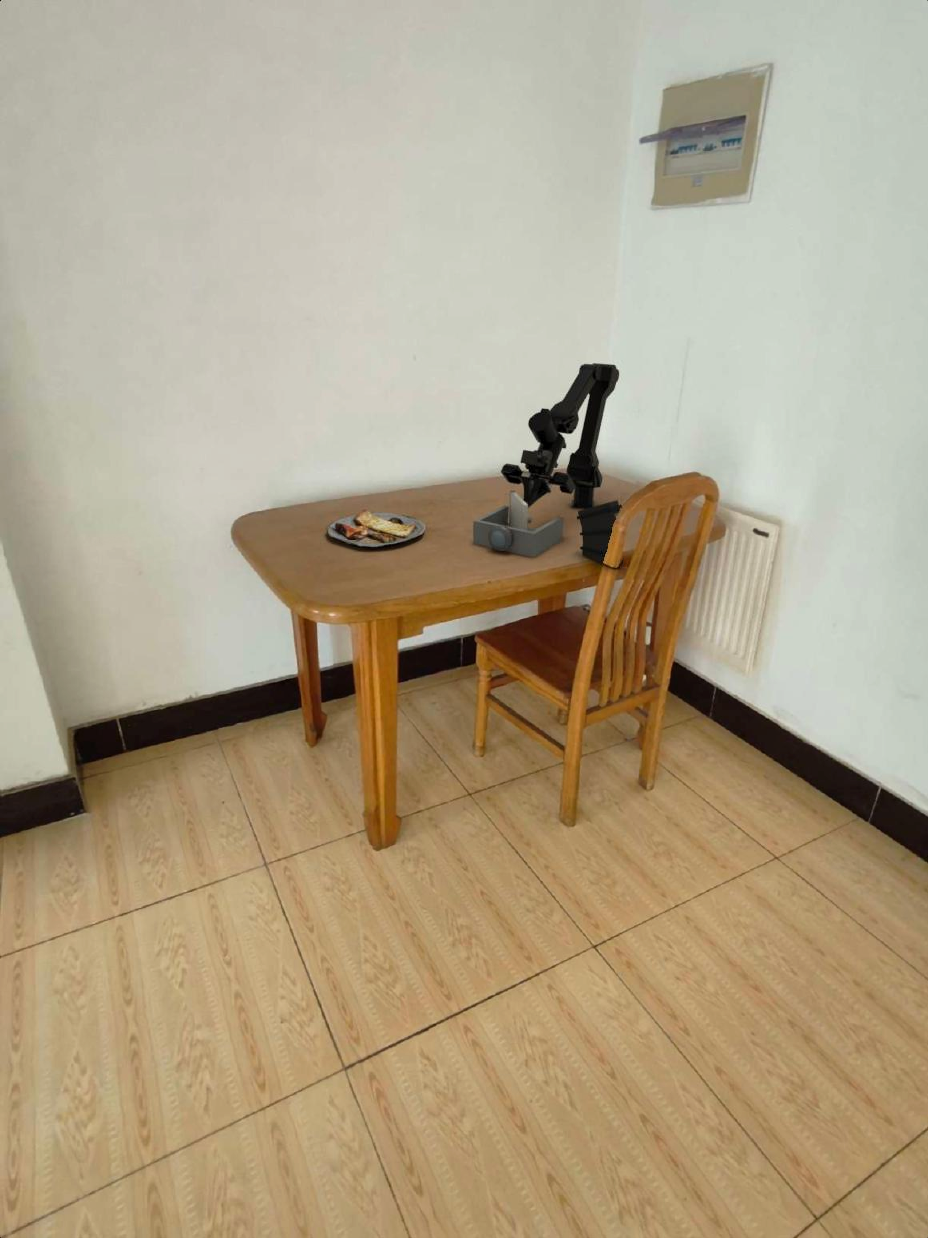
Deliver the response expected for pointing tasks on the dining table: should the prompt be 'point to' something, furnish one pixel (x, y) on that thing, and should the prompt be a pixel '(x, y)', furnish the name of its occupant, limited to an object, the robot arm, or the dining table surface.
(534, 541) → the grey open box
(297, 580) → the dining table surface
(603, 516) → the black ribbed curved block
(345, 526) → the food plate
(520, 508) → the side door
